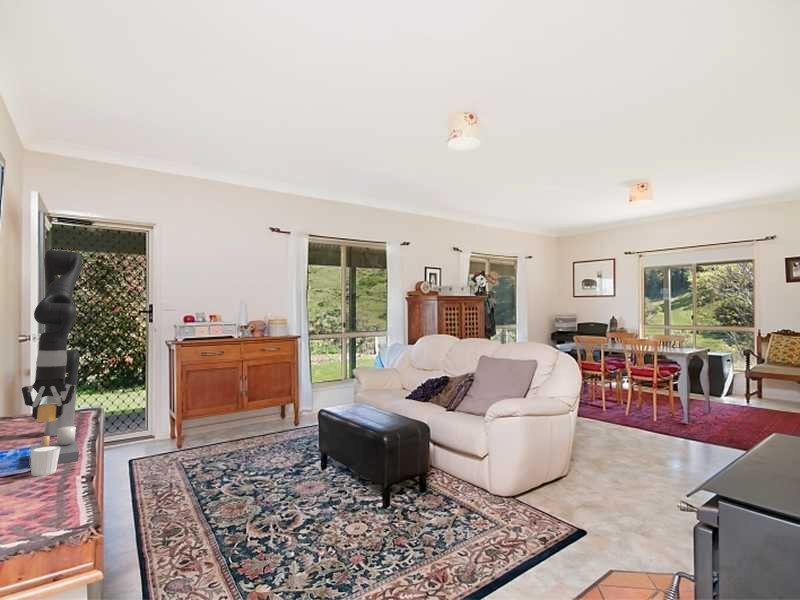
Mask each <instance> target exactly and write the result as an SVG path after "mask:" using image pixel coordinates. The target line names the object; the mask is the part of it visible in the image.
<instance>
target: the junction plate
mask: <svg viewBox="0 0 800 600" xmlns="http://www.w3.org/2000/svg"><path fill="white" fill-rule="evenodd" d="M76 429H77V427H76V426H75V425H74V426H68V427H61V428H58V435H57V437H56V438H57V439H56V442H55V443H50V439H51V436H45V435H43V436H41V441H40V442H41V444H38V445H31V446H30V451H29V460H28V466H29V465H31V450H33V449H36V448H40V447H47V446H59V447H60V452H59V457H58V463H57V465H59V464H65V463H66V464H67V463H73V462H78V461H79V451H80V450H79V446H78V443H77V440H76Z"/></svg>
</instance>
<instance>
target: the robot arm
mask: <svg viewBox="0 0 800 600" xmlns="http://www.w3.org/2000/svg"><path fill="white" fill-rule="evenodd" d="M43 260H44V264H43V266H44V276H45V288H46V289H45V291H46V292H45V296H44V298H42V300H41V301H40V302H39V303H38V304H37V305H36V307H35V309H34V311H33V318H34V320H35V321H36V323H39V324H40V325H45V327H46V330H45V331H44V332H42V333H40V336H39V341H38V343H39V345H38V351H37V352H38V353H37V357H36V362H35V363H36V364H35V378H34V382H33V384H32V385H26V386H23V387H21V391H22V392H21V393H22V395H23V396H22V397H23V400H24V405H25V406H29V407H32V413H31V416H32V418H34V420H37V412H38V407H39V405H41V404H42V403H41V402H42V401H43V399H44V398H46V404H52V403H55V404H57V405H58V406H57V407H56V418H58V419H57V420H56V421H51V422H44V429H43V430H44V431H43V436H50V437H55V436H57V435H58V428H61V427H68V426H75V417H76V416H75V415H76V414H75V413H76V404H77V403H76V401H77V390H78V389H77V386H78V385H77V384H78V374H79V368H80V367H79V366H80V361H81V359H80V357H81V356H80V352H79V351H78V350H75V349H71V350H70V349H69V350H68V349H67V347H68V337H69V333H70V331H71V329H73V327H74V325H75V324H76V322H77V321H76V320H77V305H76V304H75V302H74V301H73V293H74V290H75V286H76V284H77V281H78V280H79V278H80V275H81V272H82V271H83V270H82V269H83V259H82V254H80V253H79V252H77V251H68V250H57V249H49V250H46V252H45V254H44V259H43ZM57 276H59V277H57ZM66 374H67V375H66ZM33 390H34V391H35V392H36V393H37V394H36V396H35V397H34V401H33V398H32V392H33Z"/></svg>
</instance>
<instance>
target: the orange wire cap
mask: <svg viewBox="0 0 800 600" xmlns="http://www.w3.org/2000/svg"><path fill="white" fill-rule="evenodd" d="M57 406H58V405H57V404H55V403H52V404H47V403H43V404H42V403H40V405H39V407H38V412H37V419H36V423H45V422H51V421H56V420H57V419H58V418H56V407H57Z"/></svg>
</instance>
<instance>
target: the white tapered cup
mask: <svg viewBox="0 0 800 600" xmlns="http://www.w3.org/2000/svg"><path fill="white" fill-rule="evenodd" d="M30 451H31V468H30V469H31V470H30V473H31V476H32V477H43V476H48V475H52V474H55V473H56V471H57V466H58V464H57V463H58V457H59V452H60V447H59V446H47V447H40V448H36V449H33V450H31V449H30Z"/></svg>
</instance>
